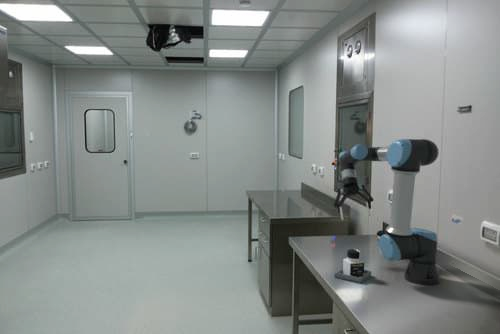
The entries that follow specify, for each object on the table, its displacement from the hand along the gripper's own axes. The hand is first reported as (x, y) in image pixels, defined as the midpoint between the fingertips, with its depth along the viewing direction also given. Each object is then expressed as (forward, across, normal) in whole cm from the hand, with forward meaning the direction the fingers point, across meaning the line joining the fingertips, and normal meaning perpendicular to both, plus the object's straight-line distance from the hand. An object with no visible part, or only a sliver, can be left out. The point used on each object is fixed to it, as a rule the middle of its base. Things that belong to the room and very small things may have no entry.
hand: (355, 217), depth 209 cm
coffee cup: (+13, -9, -34) cm, 38 cm away
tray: (+30, +4, +8) cm, 32 cm away
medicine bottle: (+30, +4, +8) cm, 31 cm away
